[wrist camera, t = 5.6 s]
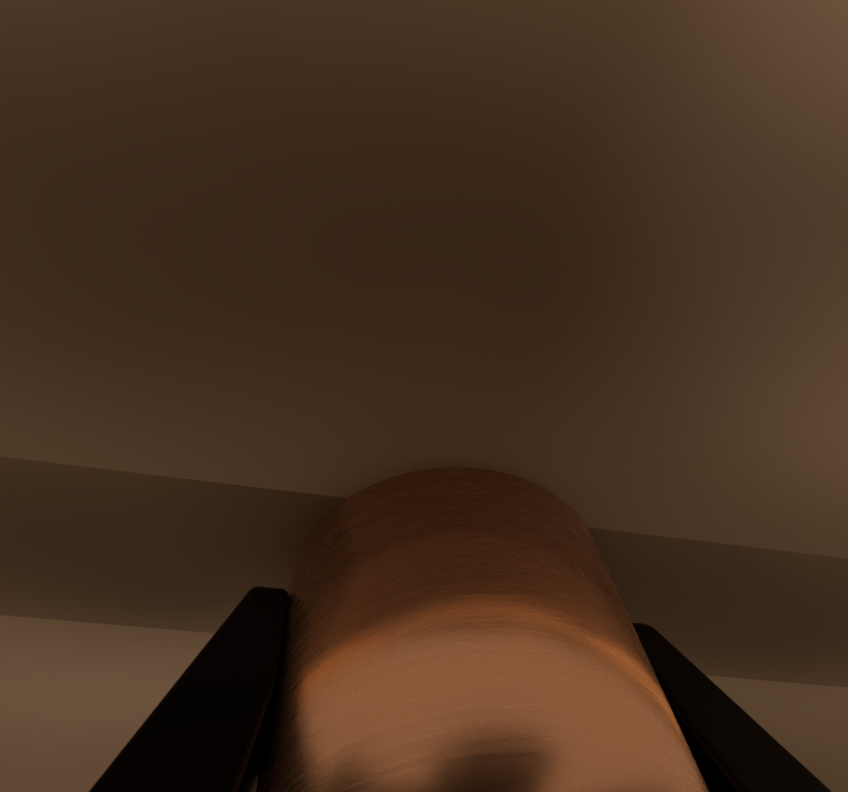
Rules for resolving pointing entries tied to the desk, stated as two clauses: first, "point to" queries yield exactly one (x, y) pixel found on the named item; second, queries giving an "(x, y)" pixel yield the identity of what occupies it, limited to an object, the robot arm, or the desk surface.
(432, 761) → the plunger
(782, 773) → the robot arm
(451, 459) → the press housing
